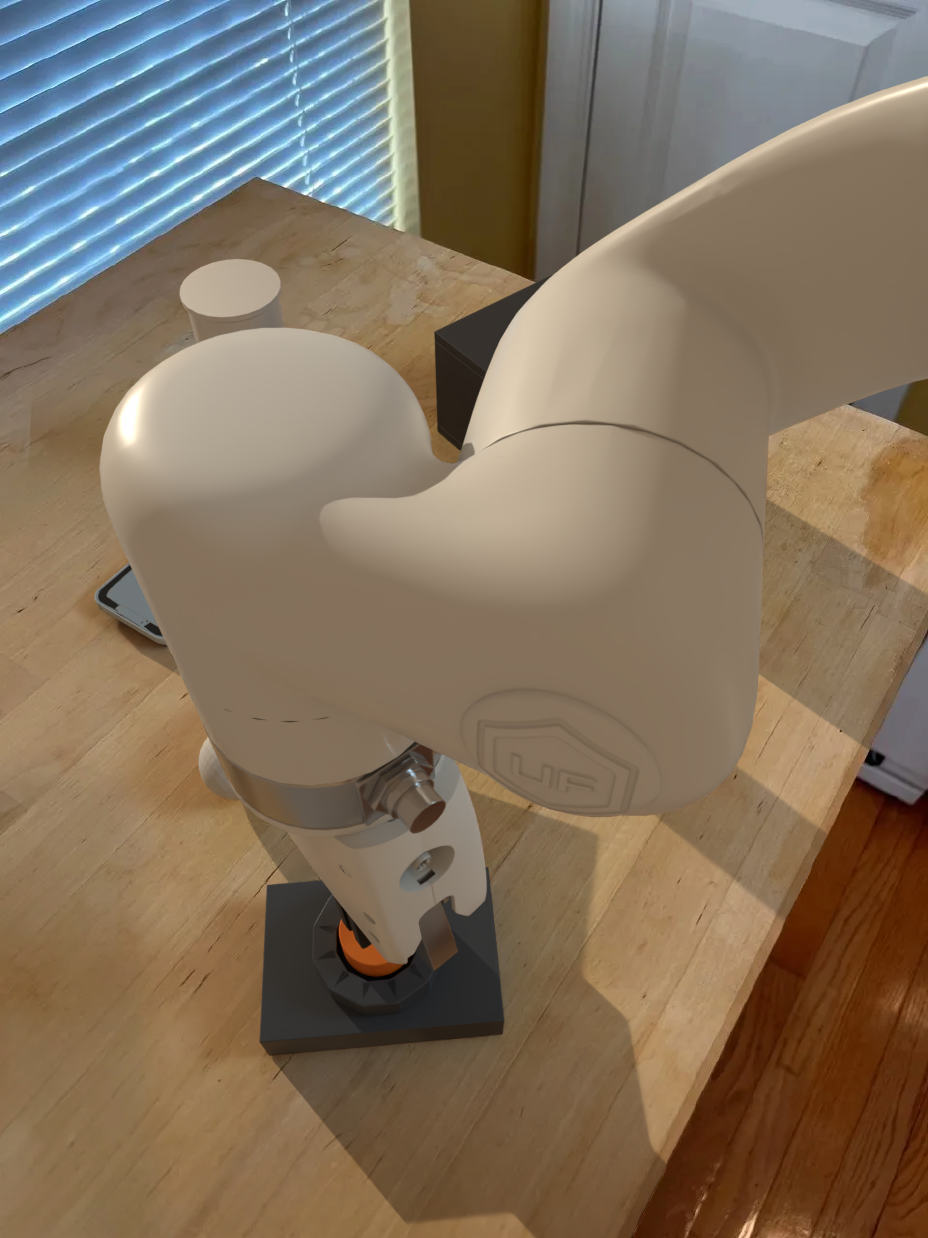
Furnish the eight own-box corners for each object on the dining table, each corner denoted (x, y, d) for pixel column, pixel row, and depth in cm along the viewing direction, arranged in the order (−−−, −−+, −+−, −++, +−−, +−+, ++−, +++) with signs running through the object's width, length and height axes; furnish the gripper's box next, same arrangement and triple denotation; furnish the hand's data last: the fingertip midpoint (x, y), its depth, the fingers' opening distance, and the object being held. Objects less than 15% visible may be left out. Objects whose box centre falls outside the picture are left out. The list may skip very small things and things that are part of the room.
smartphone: (308, 509, 70) (166, 644, 62) (309, 518, 71) (169, 652, 63) (232, 472, 73) (87, 597, 65) (234, 481, 73) (91, 606, 65)
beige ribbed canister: (219, 433, 77) (173, 266, 65) (304, 419, 78) (274, 252, 66) (227, 491, 72) (180, 324, 61) (317, 475, 73) (288, 308, 62)
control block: (487, 885, 53) (489, 852, 50) (502, 1034, 48) (505, 1010, 45) (274, 903, 53) (260, 871, 49) (268, 1056, 48) (252, 1033, 44)
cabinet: (675, 460, 74) (699, 360, 67) (557, 534, 70) (568, 435, 62) (551, 370, 81) (560, 270, 74) (437, 431, 77) (433, 331, 69)
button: (412, 902, 48) (410, 889, 47) (415, 973, 46) (414, 962, 45) (342, 908, 48) (338, 895, 47) (342, 980, 46) (338, 968, 45)
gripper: (577, 806, 28) (546, 991, 42) (302, 521, 35) (356, 763, 49) (369, 970, 25) (412, 1108, 39) (116, 624, 32) (231, 848, 47)
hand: (380, 916), depth 44 cm, fingers closed
